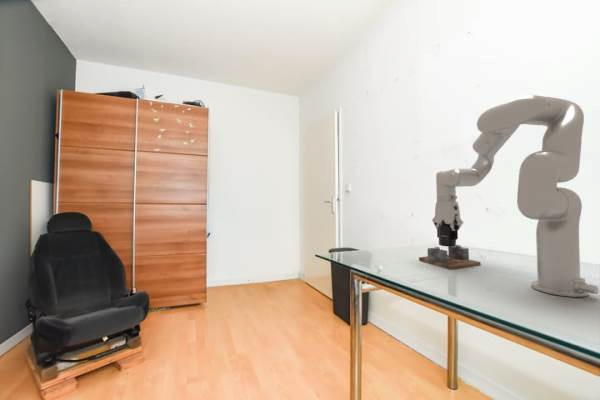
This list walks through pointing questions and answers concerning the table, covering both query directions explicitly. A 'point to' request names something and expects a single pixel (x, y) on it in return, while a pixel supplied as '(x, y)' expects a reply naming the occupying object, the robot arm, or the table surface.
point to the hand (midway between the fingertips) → (447, 238)
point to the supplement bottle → (445, 235)
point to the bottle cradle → (450, 257)
